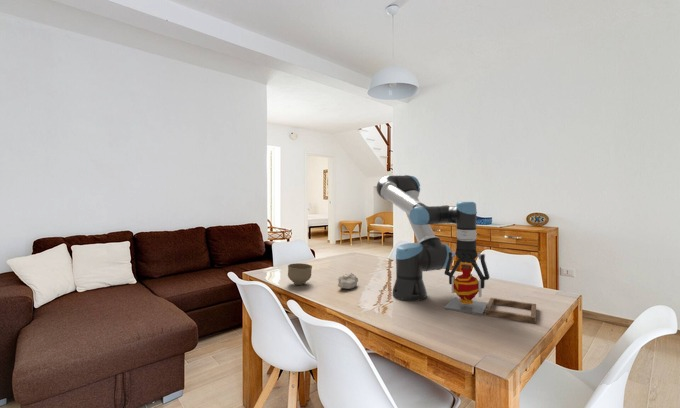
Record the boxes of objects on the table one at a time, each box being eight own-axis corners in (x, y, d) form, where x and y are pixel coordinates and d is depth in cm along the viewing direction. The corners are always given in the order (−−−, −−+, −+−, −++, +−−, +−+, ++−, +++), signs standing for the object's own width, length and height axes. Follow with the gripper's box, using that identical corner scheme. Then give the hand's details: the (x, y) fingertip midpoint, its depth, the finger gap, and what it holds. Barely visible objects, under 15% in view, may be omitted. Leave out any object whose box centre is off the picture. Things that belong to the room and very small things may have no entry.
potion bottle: (482, 306, 127) (482, 268, 126) (454, 305, 129) (454, 267, 129) (477, 298, 137) (477, 262, 137) (451, 297, 139) (451, 262, 139)
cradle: (484, 314, 124) (484, 309, 124) (490, 302, 138) (490, 297, 138) (535, 323, 115) (535, 317, 115) (536, 309, 129) (536, 304, 129)
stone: (358, 293, 164) (361, 274, 168) (347, 287, 154) (351, 267, 158) (345, 292, 168) (348, 273, 172) (333, 286, 158) (338, 266, 162)
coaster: (444, 308, 131) (444, 307, 131) (452, 298, 143) (452, 297, 143) (482, 315, 124) (482, 313, 124) (487, 304, 135) (487, 302, 135)
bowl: (311, 287, 164) (310, 267, 163) (286, 287, 164) (285, 268, 163) (313, 280, 176) (313, 262, 176) (290, 281, 176) (289, 262, 176)
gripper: (436, 239, 135) (436, 292, 136) (495, 242, 123) (495, 301, 124) (441, 236, 141) (441, 287, 142) (497, 240, 130) (497, 295, 130)
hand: (466, 294), depth 133 cm, fingers closed on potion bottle, 10 cm apart
